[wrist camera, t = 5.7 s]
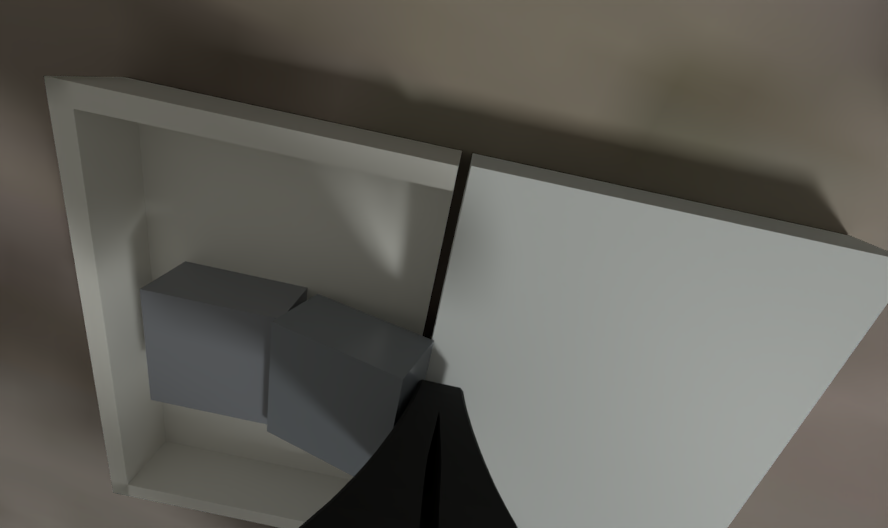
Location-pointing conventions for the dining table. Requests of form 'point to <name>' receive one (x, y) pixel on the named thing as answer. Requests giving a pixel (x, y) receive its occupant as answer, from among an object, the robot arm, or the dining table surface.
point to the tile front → (340, 380)
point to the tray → (231, 262)
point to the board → (638, 344)
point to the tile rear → (213, 338)
